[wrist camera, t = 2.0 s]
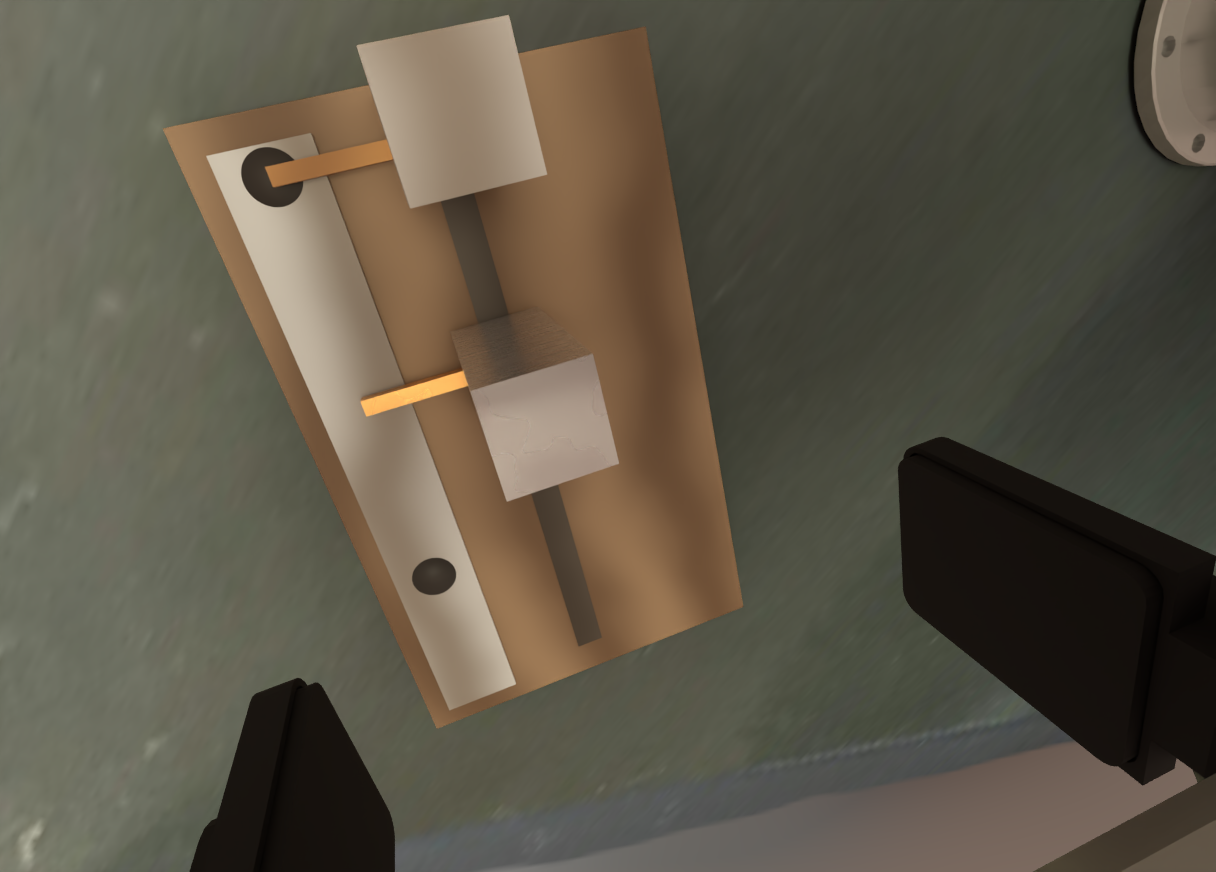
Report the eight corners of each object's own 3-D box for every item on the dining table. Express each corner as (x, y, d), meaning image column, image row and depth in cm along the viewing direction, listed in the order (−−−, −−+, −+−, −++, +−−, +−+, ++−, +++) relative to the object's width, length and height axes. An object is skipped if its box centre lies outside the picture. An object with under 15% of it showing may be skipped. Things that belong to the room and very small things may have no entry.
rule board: (627, 38, 24) (757, -50, 16) (725, 585, 35) (837, 721, 26) (182, 134, 22) (26, 92, 13) (435, 698, 32) (447, 895, 23)
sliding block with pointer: (537, 306, 25) (592, 353, 17) (559, 388, 26) (619, 463, 19) (347, 361, 23) (322, 436, 16) (380, 444, 25) (371, 547, 18)
